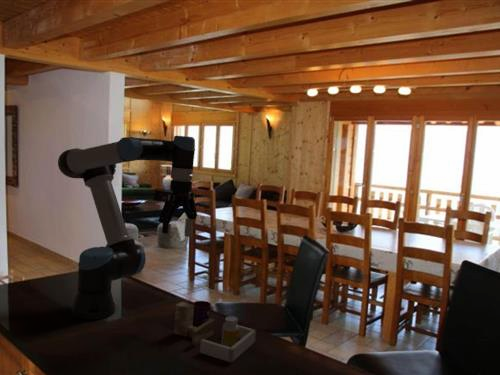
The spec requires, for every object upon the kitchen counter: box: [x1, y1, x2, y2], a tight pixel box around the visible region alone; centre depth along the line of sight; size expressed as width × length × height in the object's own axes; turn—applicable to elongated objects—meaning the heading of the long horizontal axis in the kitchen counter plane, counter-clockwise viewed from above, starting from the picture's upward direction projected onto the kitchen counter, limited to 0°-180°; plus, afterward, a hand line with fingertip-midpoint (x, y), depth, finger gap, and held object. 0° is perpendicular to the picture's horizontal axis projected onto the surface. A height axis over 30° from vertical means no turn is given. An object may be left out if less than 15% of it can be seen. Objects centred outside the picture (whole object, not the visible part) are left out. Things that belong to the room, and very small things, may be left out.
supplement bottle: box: [220, 315, 239, 347], centre depth 141 cm, size 5×5×10 cm
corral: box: [199, 324, 257, 364], centre depth 141 cm, size 11×17×4 cm, turn 155°
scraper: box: [173, 301, 216, 347], centre depth 147 cm, size 11×12×10 cm
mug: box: [187, 300, 212, 326], centre depth 160 cm, size 7×10×7 cm
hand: (177, 239), depth 155 cm, fingers open, 13 cm apart
